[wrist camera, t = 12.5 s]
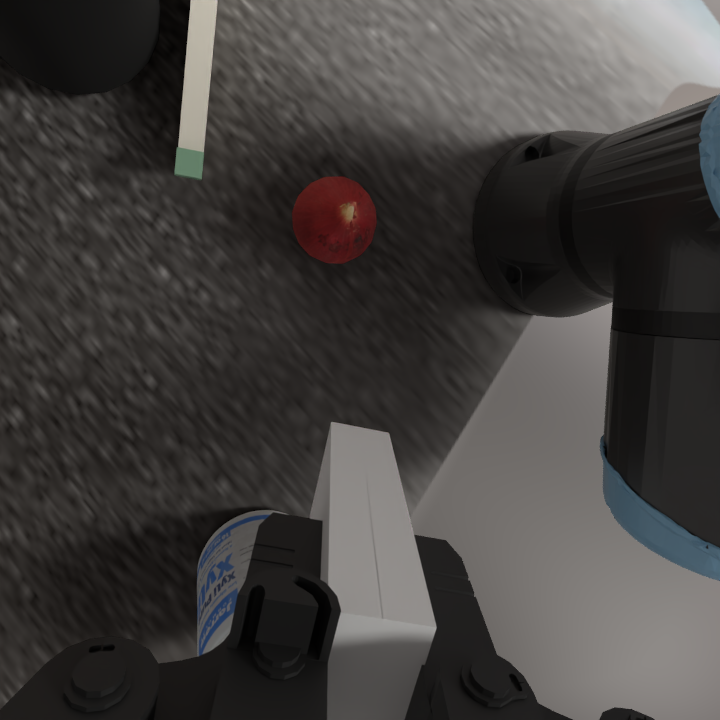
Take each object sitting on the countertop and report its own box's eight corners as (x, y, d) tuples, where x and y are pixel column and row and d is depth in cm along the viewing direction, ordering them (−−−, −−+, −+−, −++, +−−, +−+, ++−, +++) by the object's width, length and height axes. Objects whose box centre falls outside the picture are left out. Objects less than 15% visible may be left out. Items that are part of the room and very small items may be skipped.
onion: (370, 245, 41) (409, 238, 34) (305, 277, 40) (330, 276, 33) (339, 174, 40) (373, 149, 32) (271, 205, 39) (289, 186, 31)
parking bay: (223, -60, 35) (227, -108, 31) (201, 190, 37) (201, 178, 33) (-105, -166, 30) (-156, -242, 26) (-113, 135, 32) (-163, 111, 27)
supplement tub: (196, 510, 40) (196, 631, 26) (318, 500, 43) (376, 605, 29) (197, 627, 42) (197, 801, 28) (315, 610, 44) (369, 760, 31)
